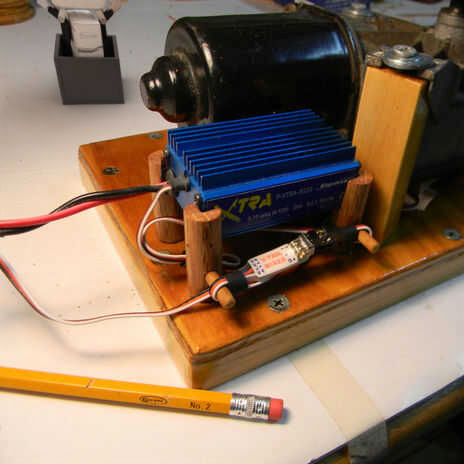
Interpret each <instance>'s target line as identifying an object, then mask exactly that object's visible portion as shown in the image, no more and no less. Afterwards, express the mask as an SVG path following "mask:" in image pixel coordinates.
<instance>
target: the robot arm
mask: <svg viewBox="0 0 464 464" xmlns="http://www.w3.org/2000/svg"><path fill="white" fill-rule="evenodd" d="M50 2H51V3H50ZM50 2H49V1H48V0H36V3H37V4H38V5H39V6H40V7H42V8H43V9H44V10H46V11H47V12H48V13H49V14H50V15H51V16H53V17H54V18H55V19H56V20H57V22H59V25H60V30H61V34H62V36H63V37H66V39H67V43H70V42H71V33H70V27H69V22H68V19H67V17H66V11H67V10H68V9H72V10H94V13H95V14H96V16H97V18H98V20H97V21H98V22H99V23H100V28H101V36H102V44H104V38H107V35H108V33H107V22H108V21H109V20H110V19H111V18H112V17H113V16H114V14H116V13H117V12H118V11H119V10H120V9H121V8H122V4H121V2H120V1H119V0H51V1H50ZM108 2H109V3H110V4H111V5H110V6H109V7H108ZM104 9H105V10H104Z"/></svg>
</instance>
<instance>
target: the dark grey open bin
mask: <svg viewBox="0 0 464 464" xmlns="http://www.w3.org/2000/svg"><path fill="white" fill-rule="evenodd" d="M103 52H104V57H73V53H72V47H71V42H70V43H67V39H66V37H63V36H62V32H61V33H60V32H59V33H55V41H54V48H53V64H54V68H55V73H56V79H57V82H58V88H59V93H60V97H61V103H62V105H99V104H100V105H109V104H110V105H115V104H120V105H121V104H125V96H124V87H123V86H124V85H123V78H122V69H121V61H120V52H119V46H118V39H117V35H116V34H107V38H104V44H103Z"/></svg>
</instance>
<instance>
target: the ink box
mask: <svg viewBox="0 0 464 464" xmlns="http://www.w3.org/2000/svg"><path fill="white" fill-rule="evenodd" d="M65 16H66V18H67V19H68V22H69V27H70V33H71V47H72V53H73V57H104V52H103V44H102V36H101V28H100V23H99V22H98V21H99V20H97V18H96V17H95V16H94V14H93V13H92V12H91V11H90V10H89V9H69V10H68V9H67V11H66V15H65Z"/></svg>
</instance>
